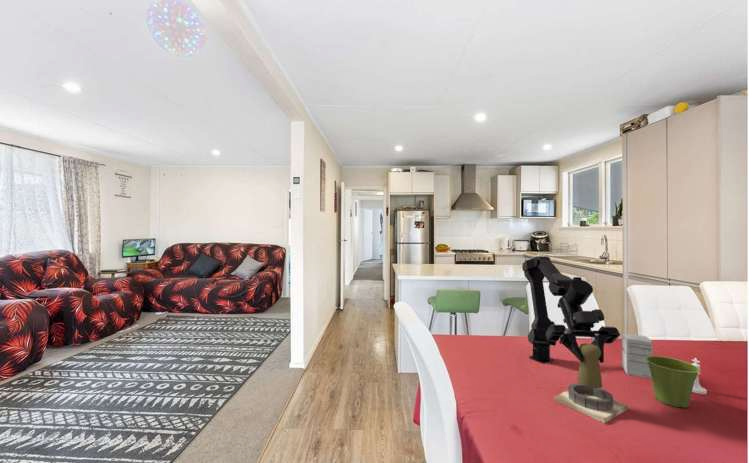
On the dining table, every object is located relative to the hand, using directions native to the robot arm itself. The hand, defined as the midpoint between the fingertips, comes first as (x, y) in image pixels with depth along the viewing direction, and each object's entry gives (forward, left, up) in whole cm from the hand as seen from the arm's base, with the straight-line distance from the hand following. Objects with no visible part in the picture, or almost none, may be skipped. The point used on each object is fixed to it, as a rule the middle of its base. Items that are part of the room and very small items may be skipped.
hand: (592, 362), depth 90 cm
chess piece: (-40, +11, -13) cm, 43 cm away
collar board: (-1, -1, -13) cm, 13 cm away
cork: (-1, -1, -7) cm, 7 cm away
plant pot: (-24, +10, -13) cm, 29 cm away
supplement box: (-39, -4, -13) cm, 41 cm away
